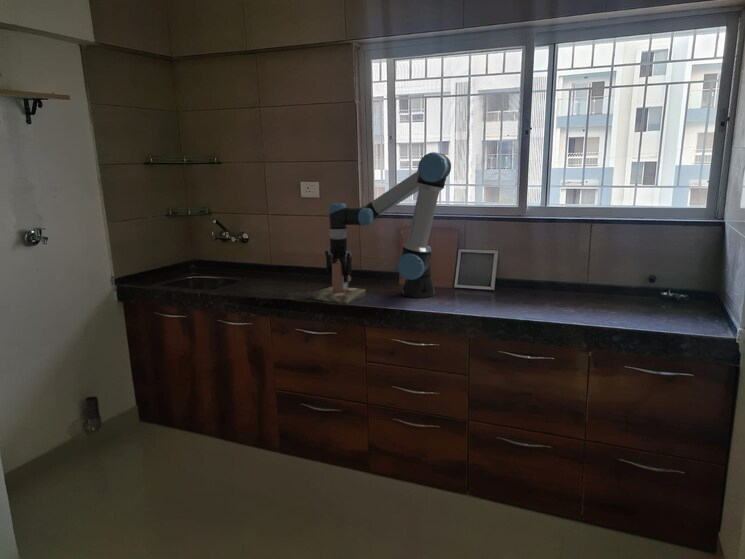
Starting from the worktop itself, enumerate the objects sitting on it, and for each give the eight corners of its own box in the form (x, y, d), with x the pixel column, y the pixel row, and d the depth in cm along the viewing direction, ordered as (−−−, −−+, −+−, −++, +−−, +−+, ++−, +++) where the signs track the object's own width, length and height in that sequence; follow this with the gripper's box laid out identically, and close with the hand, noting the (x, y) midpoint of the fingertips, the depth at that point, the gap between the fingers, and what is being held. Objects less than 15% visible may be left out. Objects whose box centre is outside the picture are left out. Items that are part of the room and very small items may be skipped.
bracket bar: (346, 292, 241) (345, 262, 238) (341, 294, 237) (340, 264, 234) (338, 291, 243) (337, 262, 240) (332, 293, 239) (331, 263, 236)
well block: (365, 295, 243) (365, 289, 242) (347, 303, 229) (347, 296, 229) (333, 291, 252) (333, 285, 251) (313, 299, 238) (313, 292, 237)
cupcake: (352, 285, 264) (351, 262, 262) (350, 289, 256) (349, 265, 254) (335, 285, 265) (334, 262, 263) (332, 289, 257) (332, 265, 254)
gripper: (359, 238, 234) (360, 288, 239) (326, 236, 242) (328, 285, 247) (350, 240, 227) (351, 292, 232) (317, 237, 236) (319, 288, 241)
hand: (339, 288), depth 240 cm, fingers closed on bracket bar, 4 cm apart
